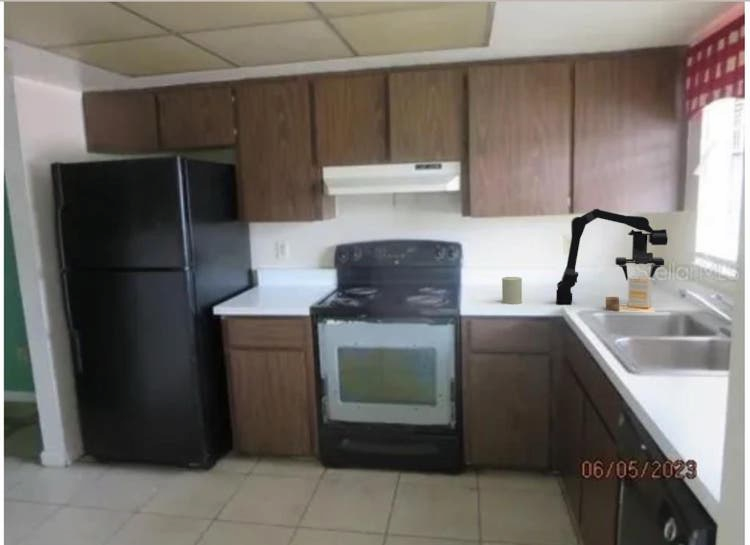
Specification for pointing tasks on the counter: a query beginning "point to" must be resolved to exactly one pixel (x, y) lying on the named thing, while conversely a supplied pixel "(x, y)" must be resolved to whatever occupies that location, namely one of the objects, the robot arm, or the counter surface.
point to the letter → (634, 309)
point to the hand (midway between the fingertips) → (638, 280)
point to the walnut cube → (612, 303)
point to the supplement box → (639, 292)
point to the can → (511, 290)
